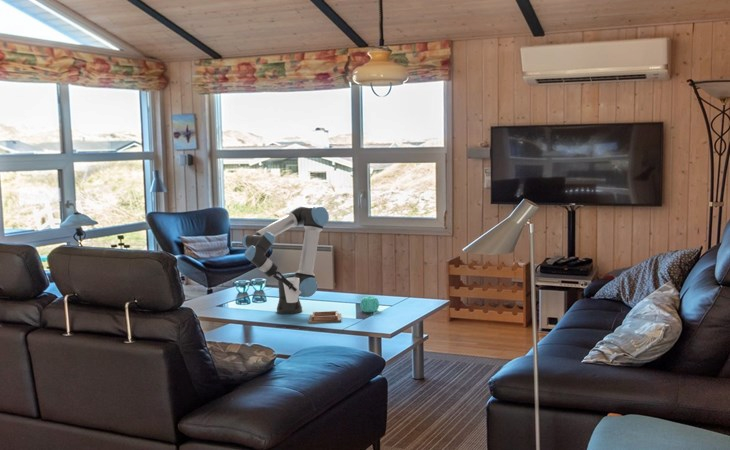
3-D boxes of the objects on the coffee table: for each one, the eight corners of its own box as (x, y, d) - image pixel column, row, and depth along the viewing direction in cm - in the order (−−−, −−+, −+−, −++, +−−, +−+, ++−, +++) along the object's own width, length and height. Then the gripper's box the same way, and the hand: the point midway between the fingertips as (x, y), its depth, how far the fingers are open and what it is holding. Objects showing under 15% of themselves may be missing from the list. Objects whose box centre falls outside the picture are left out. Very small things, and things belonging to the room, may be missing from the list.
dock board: (309, 316, 431) (309, 311, 431) (341, 315, 432) (340, 310, 432) (308, 323, 413) (308, 317, 413) (341, 322, 414) (340, 316, 414)
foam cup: (288, 299, 429) (287, 277, 428) (303, 300, 426) (302, 277, 425) (281, 303, 420) (279, 280, 419) (296, 303, 417) (294, 280, 416)
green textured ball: (379, 310, 443) (379, 297, 442) (370, 312, 437) (370, 299, 436) (369, 309, 448) (368, 296, 447) (360, 311, 442) (359, 298, 441)
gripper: (259, 270, 426) (287, 294, 433) (268, 275, 405) (298, 300, 413) (267, 260, 427) (295, 284, 435) (277, 264, 407) (307, 290, 414)
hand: (297, 292), depth 424 cm, fingers closed on foam cup, 9 cm apart
